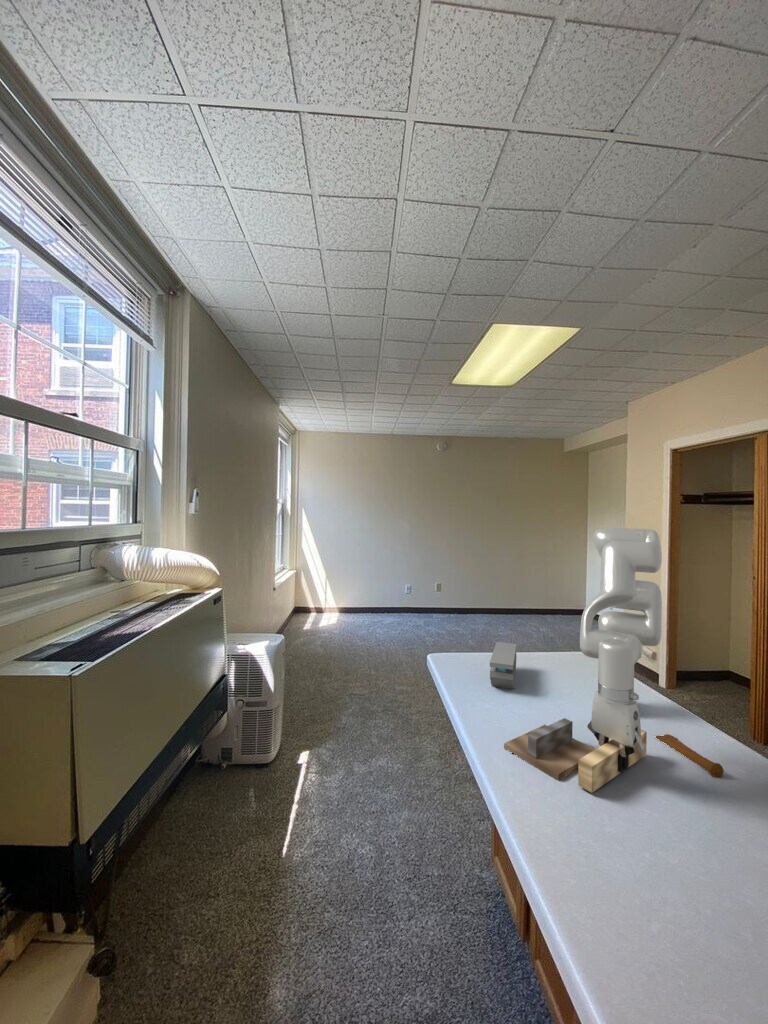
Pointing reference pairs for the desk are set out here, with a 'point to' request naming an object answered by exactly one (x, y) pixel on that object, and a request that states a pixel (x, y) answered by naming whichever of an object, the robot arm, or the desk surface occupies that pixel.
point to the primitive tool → (692, 755)
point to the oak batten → (604, 764)
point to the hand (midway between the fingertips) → (614, 765)
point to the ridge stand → (550, 748)
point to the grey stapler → (503, 665)
